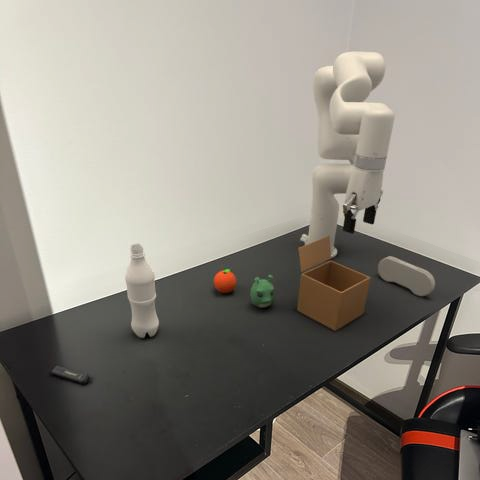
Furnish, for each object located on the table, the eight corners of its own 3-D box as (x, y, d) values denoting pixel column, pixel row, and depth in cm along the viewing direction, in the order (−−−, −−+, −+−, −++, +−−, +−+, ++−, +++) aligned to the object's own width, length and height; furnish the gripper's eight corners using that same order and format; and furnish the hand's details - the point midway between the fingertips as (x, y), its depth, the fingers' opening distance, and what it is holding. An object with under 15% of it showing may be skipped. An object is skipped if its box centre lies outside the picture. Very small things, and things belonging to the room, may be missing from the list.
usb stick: (50, 375, 105) (49, 370, 104) (58, 368, 107) (57, 363, 106) (84, 386, 102) (83, 380, 102) (91, 379, 105) (90, 373, 104)
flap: (301, 271, 125) (300, 271, 125) (331, 258, 132) (330, 258, 133) (299, 248, 122) (298, 247, 122) (329, 235, 130) (328, 235, 130)
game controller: (431, 298, 140) (439, 274, 135) (427, 300, 138) (434, 276, 134) (379, 274, 152) (384, 252, 147) (375, 276, 151) (380, 253, 146)
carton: (296, 310, 132) (300, 274, 125) (325, 295, 139) (330, 260, 133) (335, 331, 123) (341, 293, 117) (363, 313, 131) (370, 277, 125)
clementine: (221, 282, 144) (221, 262, 141) (241, 287, 142) (241, 267, 138) (209, 294, 138) (209, 273, 134) (230, 299, 136) (230, 278, 132)
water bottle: (164, 328, 122) (157, 242, 109) (151, 342, 117) (142, 254, 103) (140, 322, 124) (130, 238, 110) (127, 337, 119) (114, 249, 105)
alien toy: (255, 315, 129) (257, 284, 123) (246, 301, 135) (247, 272, 129) (278, 311, 131) (280, 281, 125) (268, 298, 137) (270, 269, 131)
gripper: (375, 154, 120) (363, 216, 129) (337, 165, 110) (328, 231, 119) (400, 159, 116) (387, 223, 125) (364, 171, 105) (352, 240, 115)
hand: (358, 227), depth 122 cm, fingers open, 9 cm apart
